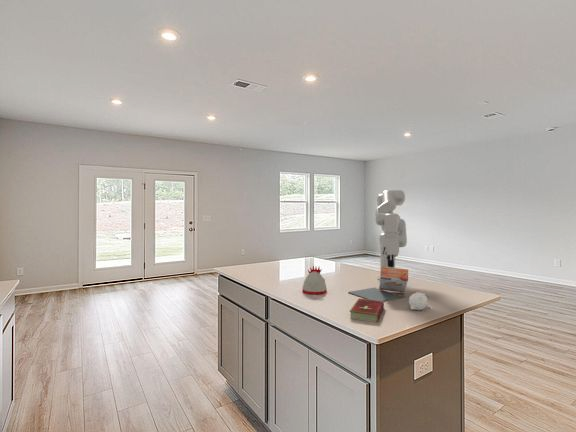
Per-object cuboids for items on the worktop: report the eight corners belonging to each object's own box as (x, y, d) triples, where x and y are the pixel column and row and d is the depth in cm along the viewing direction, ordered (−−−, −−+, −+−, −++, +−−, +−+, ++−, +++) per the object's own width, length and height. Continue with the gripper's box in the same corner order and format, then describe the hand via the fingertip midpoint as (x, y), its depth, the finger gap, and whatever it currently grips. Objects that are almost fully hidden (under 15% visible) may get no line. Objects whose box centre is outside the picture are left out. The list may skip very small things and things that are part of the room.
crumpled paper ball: (418, 286, 161) (414, 290, 150) (437, 300, 156) (435, 305, 146) (408, 299, 163) (403, 304, 153) (427, 313, 158) (423, 320, 148)
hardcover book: (383, 309, 155) (383, 300, 155) (377, 323, 136) (377, 313, 136) (358, 306, 160) (358, 297, 160) (349, 319, 141) (349, 310, 141)
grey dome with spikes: (325, 295, 178) (325, 268, 177) (300, 294, 181) (300, 267, 180) (327, 289, 191) (327, 264, 191) (304, 288, 194) (304, 263, 194)
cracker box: (379, 290, 187) (380, 276, 170) (379, 280, 190) (380, 265, 173) (404, 293, 183) (408, 279, 166) (404, 283, 186) (408, 268, 169)
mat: (374, 288, 193) (374, 287, 193) (403, 297, 174) (403, 296, 174) (348, 292, 183) (348, 291, 183) (376, 302, 164) (376, 301, 164)
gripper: (394, 234, 193) (394, 264, 193) (376, 235, 186) (376, 266, 186) (405, 235, 187) (404, 266, 187) (386, 236, 179) (386, 268, 179)
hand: (390, 266), depth 186 cm, fingers closed
